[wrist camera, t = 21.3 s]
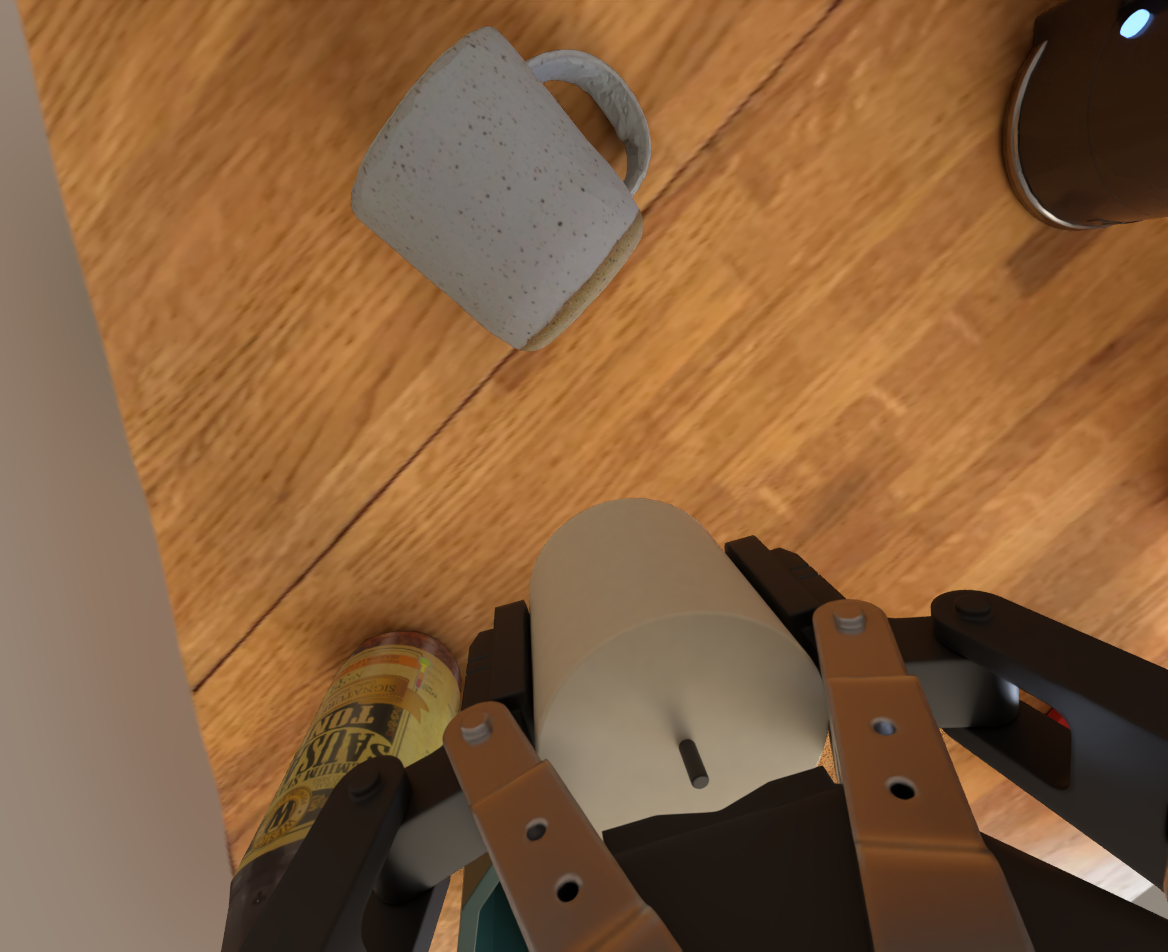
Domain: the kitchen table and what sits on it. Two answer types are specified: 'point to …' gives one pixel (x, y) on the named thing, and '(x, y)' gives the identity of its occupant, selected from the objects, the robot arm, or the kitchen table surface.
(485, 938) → the tin
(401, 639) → the sauce bottle
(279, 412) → the kitchen table surface
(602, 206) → the ceramic mug
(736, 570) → the candle
